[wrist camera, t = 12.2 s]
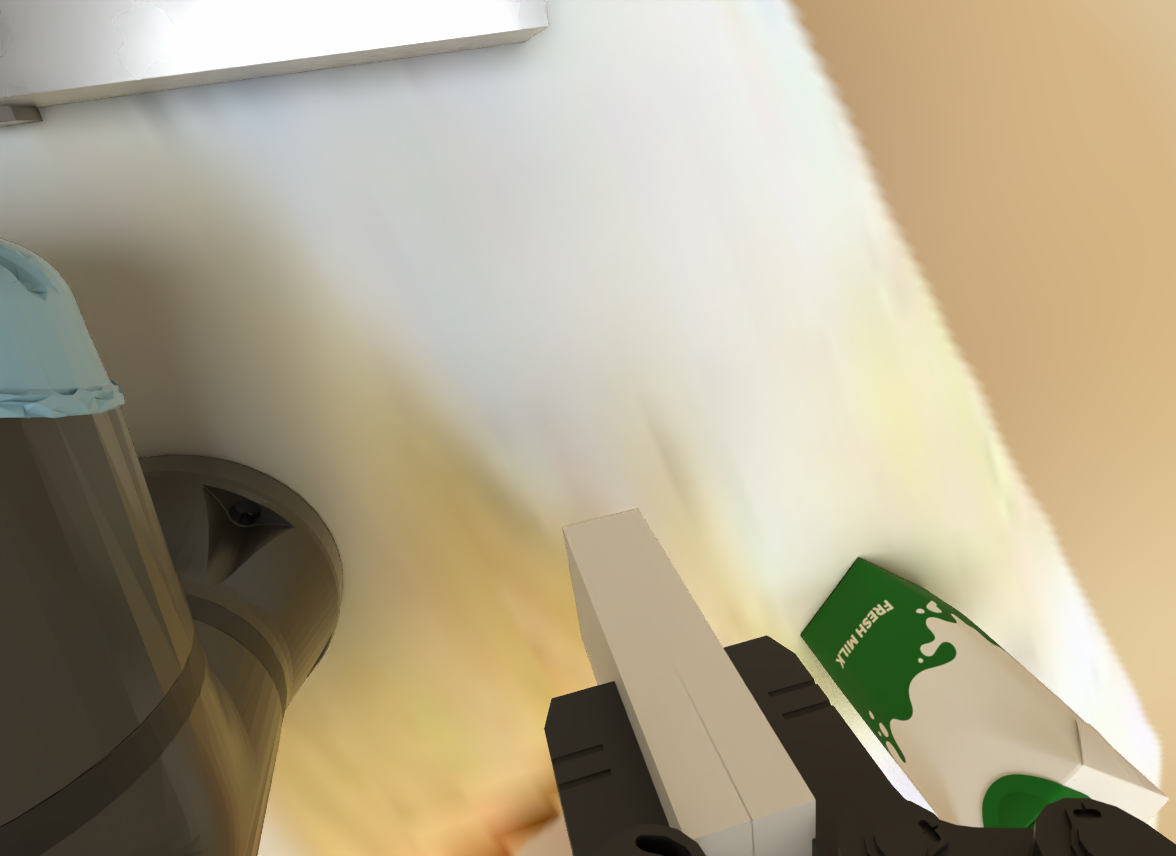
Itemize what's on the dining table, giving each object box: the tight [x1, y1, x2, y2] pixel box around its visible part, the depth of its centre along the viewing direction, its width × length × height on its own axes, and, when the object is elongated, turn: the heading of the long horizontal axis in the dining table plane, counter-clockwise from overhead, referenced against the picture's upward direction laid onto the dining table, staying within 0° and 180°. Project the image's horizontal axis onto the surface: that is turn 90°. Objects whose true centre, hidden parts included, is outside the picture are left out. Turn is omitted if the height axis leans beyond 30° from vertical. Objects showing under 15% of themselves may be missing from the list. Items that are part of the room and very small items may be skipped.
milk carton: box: [801, 558, 1169, 828], centre depth 42 cm, size 9×9×20 cm
